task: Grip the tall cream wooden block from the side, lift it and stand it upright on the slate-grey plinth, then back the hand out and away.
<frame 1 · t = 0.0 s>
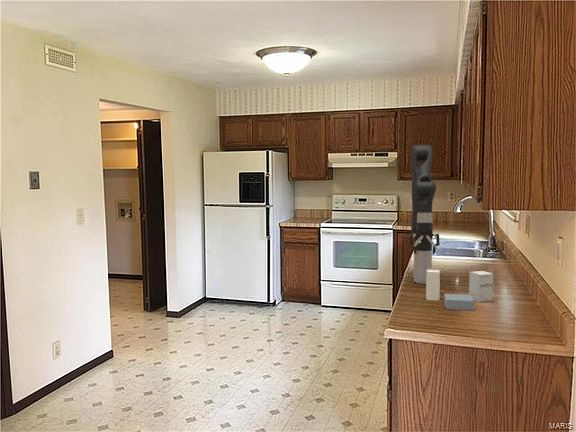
hand: (424, 254, 242), 17 cm above the worktop, tool pointing down, fingers open, 8 cm apart
plinth: (458, 306, 210), on the worktop
supplement box: (480, 300, 220), on the worktop
cream block: (432, 298, 223), on the worktop
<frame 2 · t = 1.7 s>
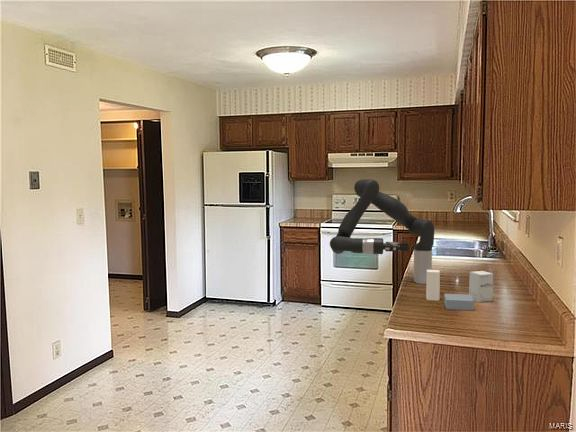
hand: (408, 247, 223), 24 cm above the worktop, tool horizontal, fingers open, 8 cm apart
nothing on the worktop moved.
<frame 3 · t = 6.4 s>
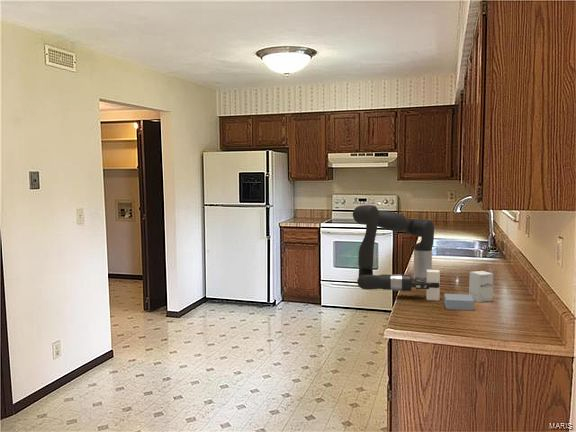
hand: (438, 283, 222), 7 cm above the worktop, tool horizontal, fingers closed on cream block, 5 cm apart
cream block: (432, 298, 223), on the worktop, touching gripper
everything else where it was.
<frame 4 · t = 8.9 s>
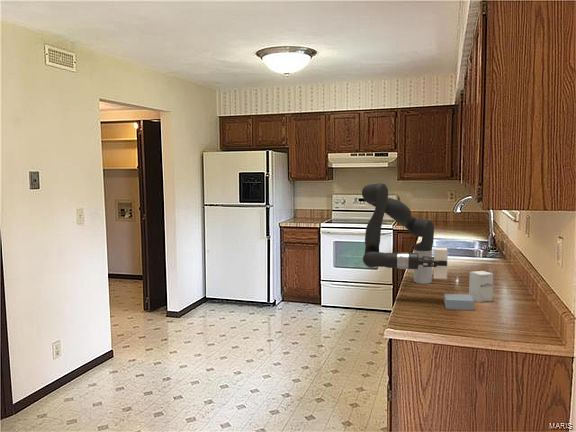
hand: (446, 262, 216), 18 cm above the worktop, tool horizontal, fingers closed on cream block, 5 cm apart
cream block: (440, 277, 218), point 11 cm above the worktop, touching gripper
everything else where it was.
when the fingers open (12 cm above the worktop, at t = 11.7 s): cream block stays where it is, resting on plinth.
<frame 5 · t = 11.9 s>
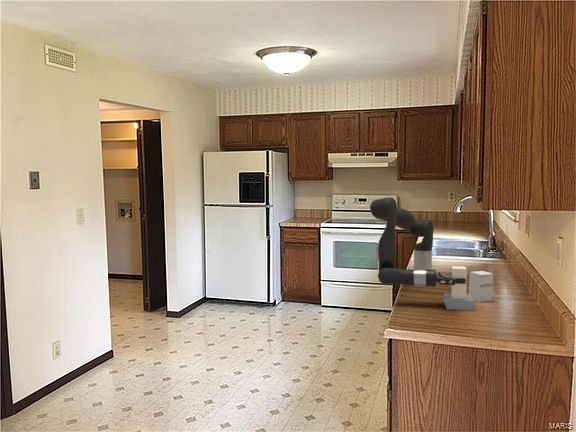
hand: (464, 279, 208), 12 cm above the worktop, tool horizontal, fingers open, 7 cm apart
cream block: (458, 297, 210), point 4 cm above the worktop, touching plinth
everything else where it was.
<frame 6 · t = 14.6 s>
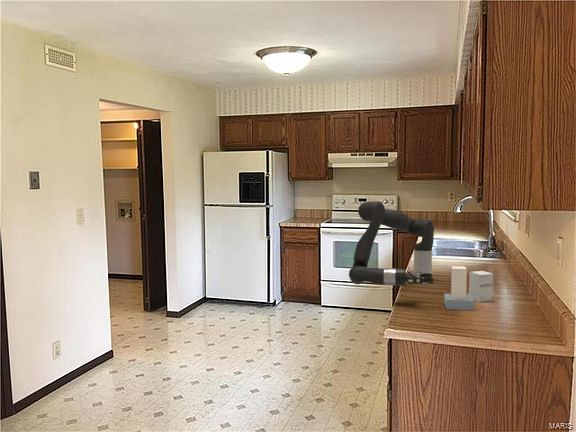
hand: (432, 278, 211), 12 cm above the worktop, tool horizontal, fingers open, 8 cm apart
nothing on the worktop moved.
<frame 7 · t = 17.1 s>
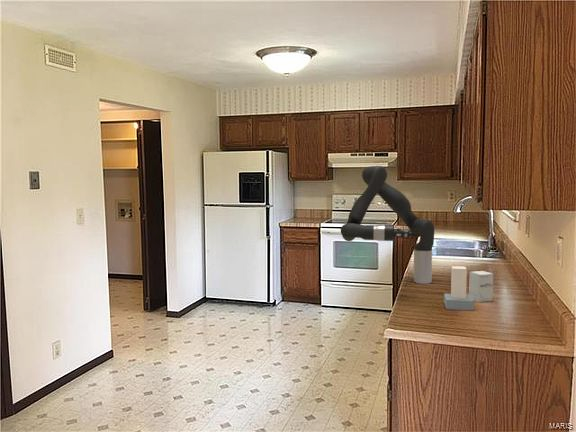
hand: (419, 233, 223), 30 cm above the worktop, tool horizontal, fingers open, 8 cm apart
nothing on the worktop moved.
at the end: cream block 0.1 cm off-centre on the plinth, point 4.0 cm above the plinth's base; cream block tilted 0°; the gripper is holding nothing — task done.
